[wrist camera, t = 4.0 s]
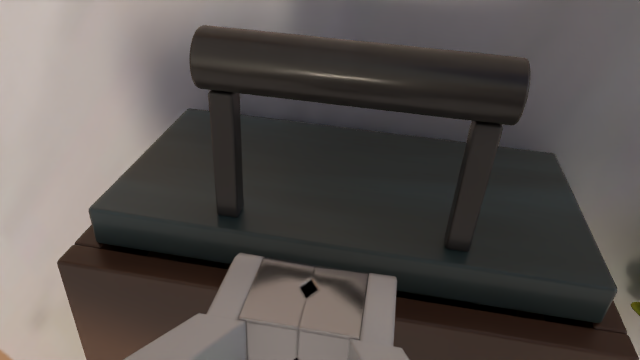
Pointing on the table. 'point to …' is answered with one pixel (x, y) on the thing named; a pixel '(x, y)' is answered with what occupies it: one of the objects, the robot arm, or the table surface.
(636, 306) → the bird rattle
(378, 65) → the drawer
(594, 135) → the table surface
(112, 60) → the table surface
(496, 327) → the cabinet
